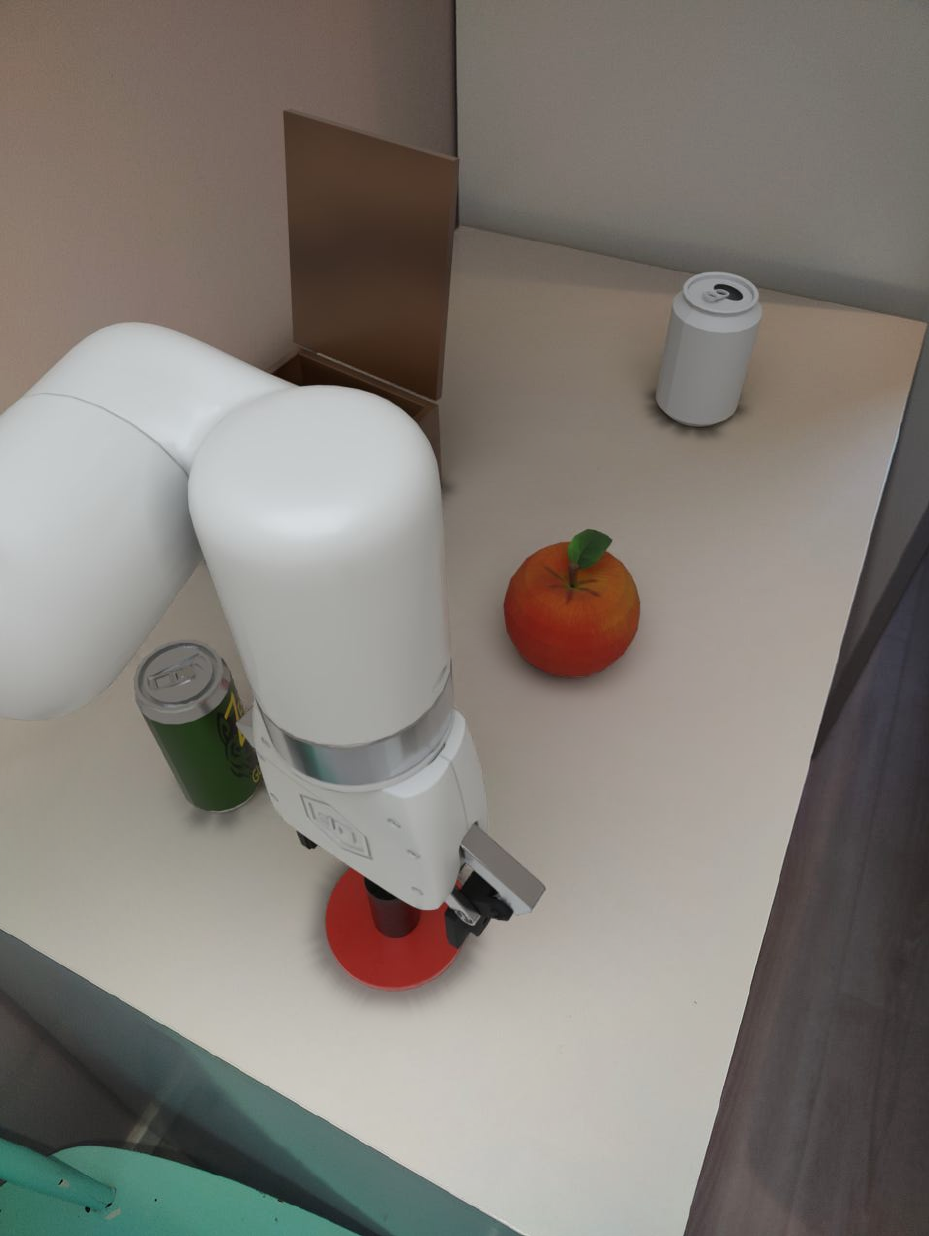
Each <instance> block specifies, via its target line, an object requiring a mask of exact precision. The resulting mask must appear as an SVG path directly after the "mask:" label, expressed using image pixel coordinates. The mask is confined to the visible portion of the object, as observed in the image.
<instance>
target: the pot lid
mask: <svg viewBox="0 0 929 1236" xmlns="http://www.w3.org/2000/svg"><path fill="white" fill-rule="evenodd" d="M455 884H456V885H457V886H458V887H459V889H461V887H462V884H461V883H460V881H459V880H458V879H457V881H456V883H455ZM447 907H448V905H447V904H446V903H445V901H444V902H443V903H442V905H441V906H440V907H439V908H438V909H435V910H422V909H418V908H416V907H413V906H411V905H409V904H407V903H406V902H404V901H402V900H401V899H399V898H397V897H396V896H394V895H393V894H391V893H389V892H388V891H386V890H385V889H383V888H382V887H380V886H379V885H377V884H376V883H374V882H373V881H371V880H369V879H368V878H366V877H365V876H363V875H362V874H360V873H359V872H357V871H356V870H354V869H353V868H351V867H350V868H348V869H347V870H346V871H345V872H344V874H343V875H342V876H341V877H340V878H339V880H338V881H337V883H336V884H335V886H334V888H333V889H332V892H331V893H330V896H329V899H328V903H327V906H326V910H325V922H324V923H325V933H326V939H327V942H328V945H329V948H330V950H331V951H330V952H331V953H332V955H333V957H334V959H335V960H336V962H337V963H338V965H339V966H340V967H341V969H343V971H344V972H345V973H346V974H347V975H348V976H349V977H351V978H352V979H354V980H355V981H356V982H357V983H360V984H362V985H363V986H366V987H369V988H371V989H375V990H379V991H385V992H401V991H402V992H403V991H408V990H413V989H417V988H420V987H421V986H424V985H426V984H428V983H430V982H432V981H433V980H435V979H437V978H438V977H439V976H440V975H442V974H443V973H444V972H445V971H446V970H447V969H448V968H449V967H450V966H451V965H452V963H453V962H454V961H455V960H456V958H457V956H458V954H459V953H460V951H461V949H462V947H463V944H462V945H461V946H460V948H459V949H456V948H455V947H453V946H452V945H450V944H449V941H448V939H447V935H446V926H445V917H444V913H445V911H446V909H447Z"/></svg>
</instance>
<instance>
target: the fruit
mask: <svg viewBox="0 0 929 1236" xmlns="http://www.w3.org/2000/svg"><path fill="white" fill-rule="evenodd" d="M612 543H613V539H612V538H611V537H610V535H607V534H606V533H604V532H601V531H598V530H597V529H592V528H586V529H585V530H583V531H581V532H579V533H577V534H575V535H574V536H573V537H572V539H571V540H570V541H560V542H557V543H554V544H551V545H547V546H545V547H543V548H540V549H539V550H537V551H536V552H534V553H532V554H531V555H530V556H528V557H526V558H525V560H524V561H523V562H522V563H521V564H520V566H519V567H518V568H517V570H516V571H515V572H514V574H513V575H512V576H511V578H509V579H510V580H509V583H508V586H507V589H506V593H505V597H504V601H503V605H502V606H503V616H504V623H505V628H506V633H507V635H508V637H509V639H510V640H511V642H512V644H513V645H514V647H515V648H516V650H517V652H518V653H519V655H520V656H522V657H523V658H524V659H525V660H526V661H527V662H528V663H530V664H531V665H532V666H533V667H535V668H538V669H540V670H541V671H543V672H545V673H547V674H549V675H555V676H559V677H563V678H579V677H588V676H591V675H594V674H597V673H600V672H603V671H604V670H606V669H607V668H608V667H610V666H611V665H612V664H614V663H615V662H616V661H618V660H619V659H620V658H622V657H623V656H624V655H625V653H626V652H627V650H628V648H629V647H630V645H631V644H632V642H633V641H634V639H635V636H636V634H637V632H638V629H639V624H640V623H639V622H640V617H641V599H640V596H639V592H638V588H637V585H636V582H635V580H634V578H633V575H632V574H631V573H630V572H629V570H628V568H627V567H626V566H625V564H624V563H623V562H622V561H620V559H618V558H617V557H615V556H614V555H613V554H611V552H609V551H607V550H608V549H609V547H610V546H611V545H612Z"/></svg>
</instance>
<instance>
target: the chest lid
mask: <svg viewBox="0 0 929 1236" xmlns="http://www.w3.org/2000/svg"><path fill="white" fill-rule="evenodd" d="M282 116H283V117H282V118H283V139H284V141H283V142H284V163H285V183H286V184H285V185H286V204H287V205H286V207H287V228H288V230H287V231H288V251H289V276H290V295H291V297H290V298H291V299H290V300H291V316H292V317H291V320H292V341H293V342H292V343H294V344H297V345H298V346H302V347H303V348H307V349H309V350H311V351H313V352H316V353H317V354H318V353H319V354H321V355H323V356H326V357H328V358H330V359H333V360H336V361H338V362H340V363H342V364H344V365H347V366H350V367H352V368H353V369H357V370H359V371H362V372H364V373H366V374H368V375H371V376H374V377H375V378H376V377H377V378H379V379H381V380H383V381H386V382H389V383H391V384H393V385H395V386H398V387H400V388H402V389H404V390H408V391H410V392H412V393H415V394H417V395H419V396H421V397H424V398H427V399H428V400H431V401H433V402H437V401H439V400H441V399H442V396H443V382H444V371H445V357H446V344H447V343H446V342H447V329H448V317H449V306H450V305H449V303H450V291H451V278H452V264H453V251H454V239H455V238H454V237H455V226H456V224H455V223H456V212H457V210H456V209H457V199H458V184H459V174H460V158H459V157H457V156H453V155H449V154H446V153H442V152H439V151H435V150H432V149H428V148H425V147H422V146H418V145H415V144H412V143H408V142H405V141H401V140H397V139H395V138H392V137H388V136H384V135H381V134H378V133H375V132H371V131H367V130H364V129H360V128H357V127H354V126H351V125H347V124H344V123H340V122H337V121H333V120H330V119H327V118H323V117H319V116H317V115H314V114H309V113H306V112H304V111H299V110H296V109H292V108H287V109H284V110H282Z"/></svg>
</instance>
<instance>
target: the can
mask: <svg viewBox="0 0 929 1236" xmlns="http://www.w3.org/2000/svg"><path fill="white" fill-rule="evenodd" d="M759 300H760V293H759V290H758V288H757V287H756V286H755V284H754V283H752V282H751V281H750V280H748V279H747V278H745V277H743V276H741V275H738V274H734V273H731V272H727V271H703V272H702V273H701V272H700V273H697V274H695V275H693V276H691V277H690V278H688V279H686V281H685V282H684V283H683V286H682V290H679V292H677V293H676V295H675V297H674V298H673V299H672V303H671V309H670V315H669V320H668V325H667V331H666V336H665V341H664V347H663V351H662V352H663V353H662V359H661V363H660V369H659V374H658V379H657V385H656V392H655V400H656V402H657V405H658V407H659V408H660V409H661V410H662V411H663V412H664V413H665V414H666V415H667V416H668V417H669V418H671V419H672V420H674V421H676V422H677V423H679V424H682V425H685V426H689V427H698V428H701V427H702V428H703V427H710V426H713V425H715V424H718V423H720V422H723V421H726V420H727V419H728V418H730V417H731V416H733V415H734V414H735V412H736V410H737V409H738V406H739V402H740V398H741V394H742V391H743V388H744V385H745V380H746V377H747V374H748V369H749V365H750V362H751V358H752V355H753V351H754V347H755V344H756V340H757V337H758V334H759V333H758V332H759V329H760V327H761V322H762V318H763V306H762V305H761V304H760V302H759Z"/></svg>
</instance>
